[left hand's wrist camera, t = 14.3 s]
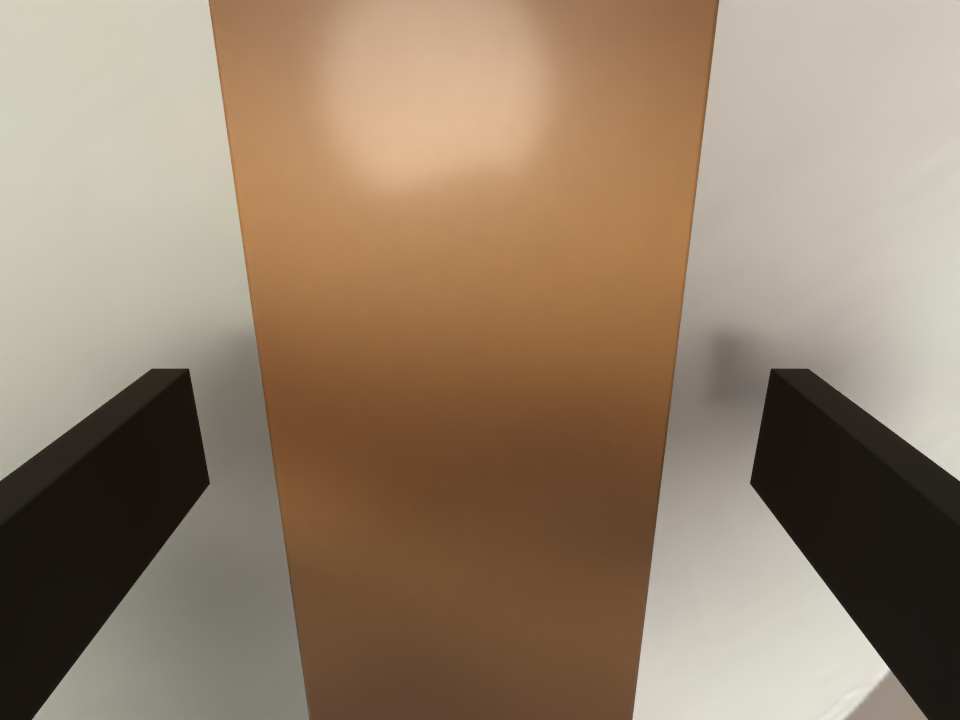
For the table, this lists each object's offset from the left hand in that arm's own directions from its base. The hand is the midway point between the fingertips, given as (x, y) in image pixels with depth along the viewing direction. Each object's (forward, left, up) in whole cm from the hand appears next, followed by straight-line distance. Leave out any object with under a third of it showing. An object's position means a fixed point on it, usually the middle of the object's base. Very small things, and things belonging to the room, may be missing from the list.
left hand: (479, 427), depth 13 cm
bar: (+29, +13, -4) cm, 32 cm away
